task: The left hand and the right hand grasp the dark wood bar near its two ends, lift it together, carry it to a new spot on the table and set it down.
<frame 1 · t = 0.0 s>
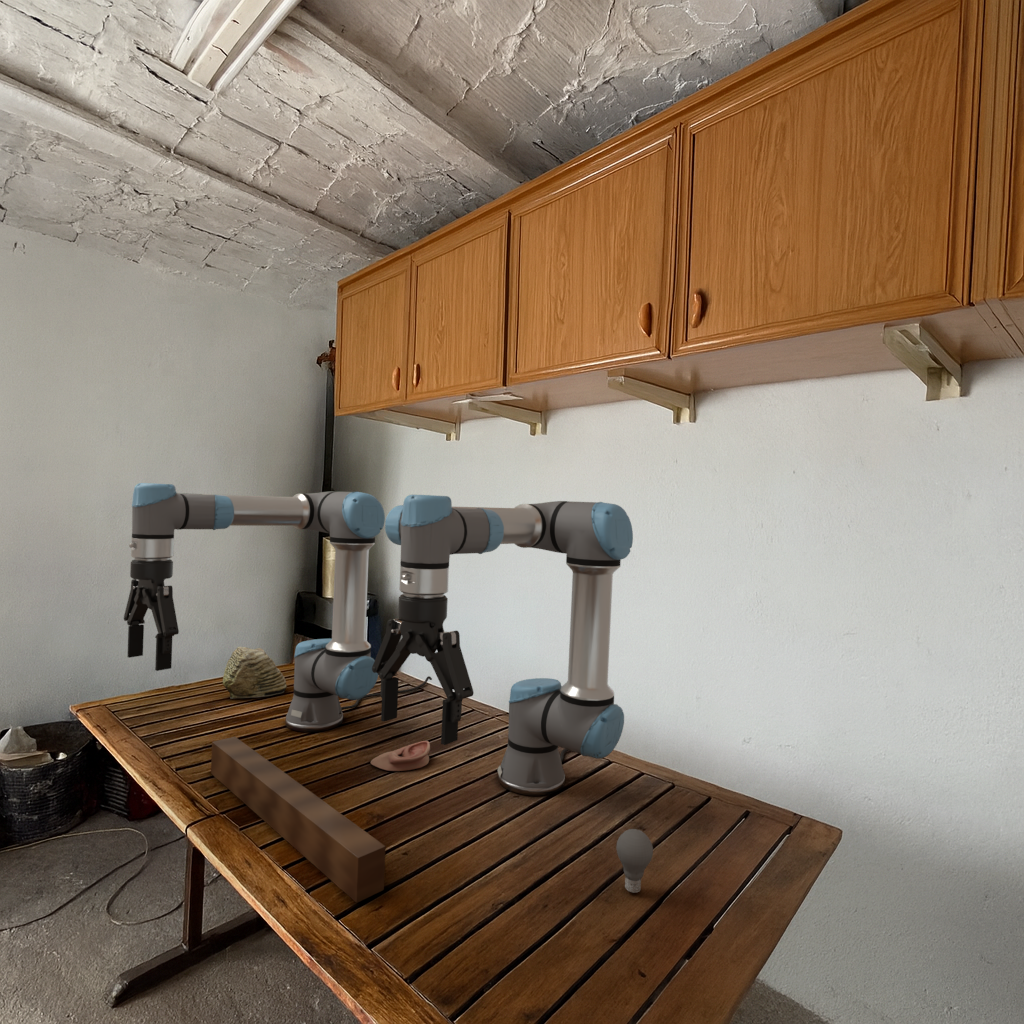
left hand: (148, 662, 129), 28 cm above the table, tool pointing down, fingers open, 13 cm apart
right hand: (417, 730, 98), 28 cm above the table, tool pointing down, fingers open, 13 cm apart
bar: (283, 822, 123), on the table
fossil: (254, 694, 198), on the table
light bulb: (632, 891, 106), on the table
anatomical model: (400, 762, 153), on the table
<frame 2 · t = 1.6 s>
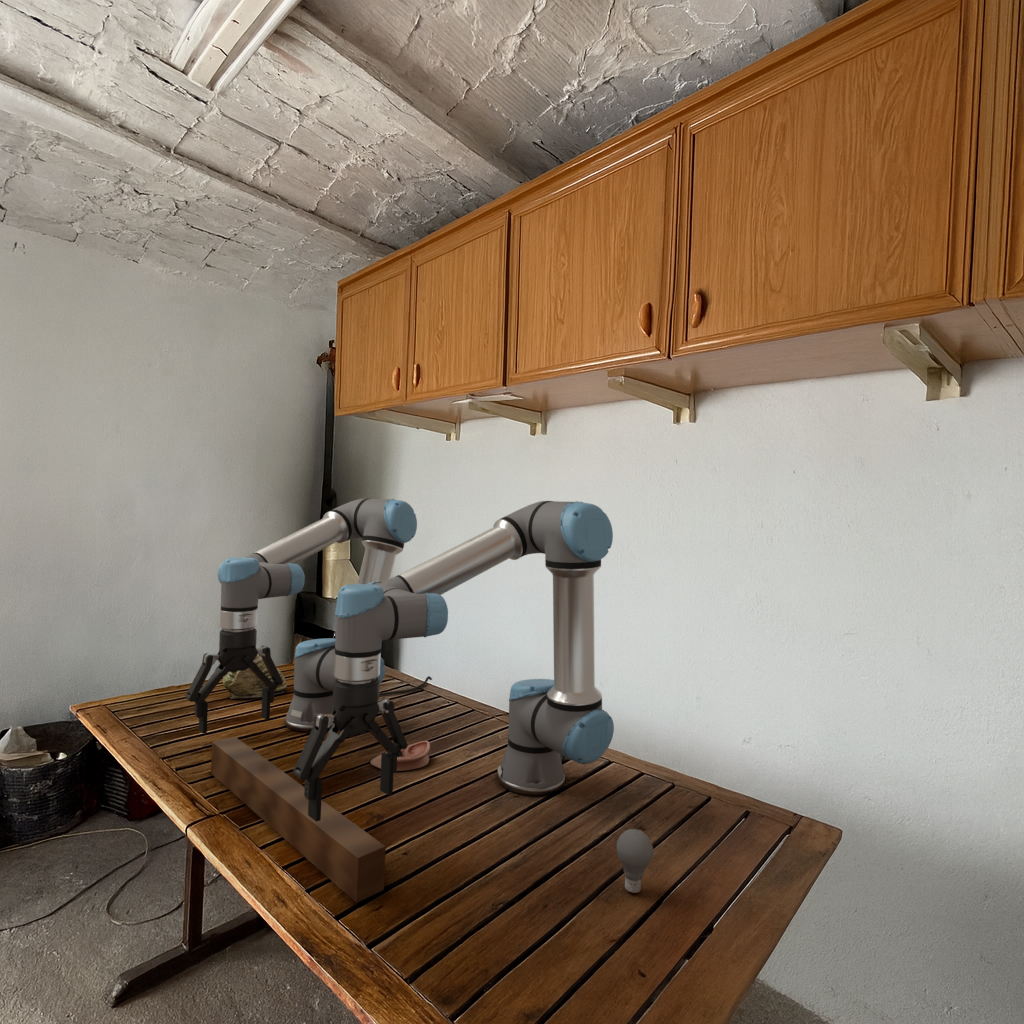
left hand: (235, 724, 139), 12 cm above the table, tool pointing down, fingers open, 13 cm apart
right hand: (351, 804, 106), 12 cm above the table, tool pointing down, fingers open, 13 cm apart
nothing on the table moved.
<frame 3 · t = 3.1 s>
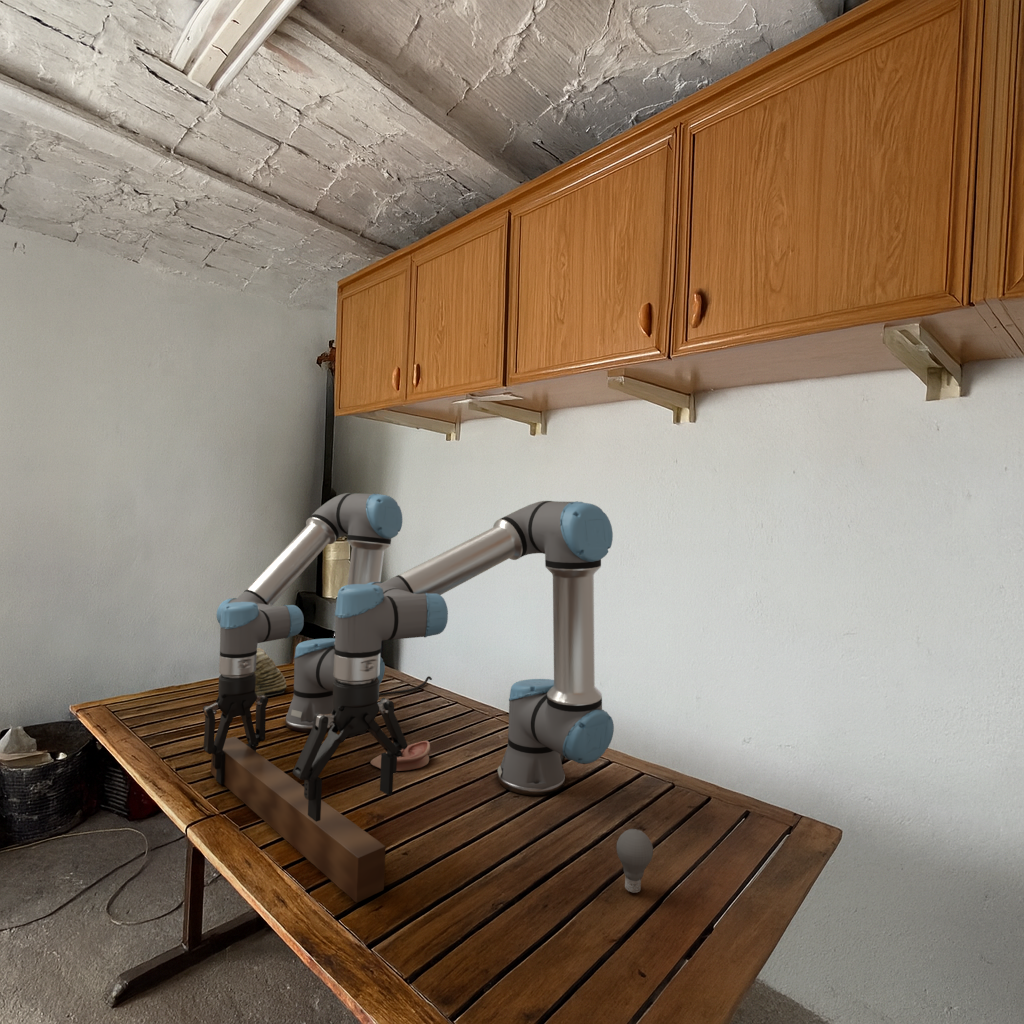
left hand: (233, 778, 140), 0 cm above the table, tool pointing down, fingers closed on bar, 5 cm apart
right hand: (351, 804, 106), 12 cm above the table, tool pointing down, fingers open, 13 cm apart
bar: (283, 822, 123), on the table, touching left hand
everything else where it was.
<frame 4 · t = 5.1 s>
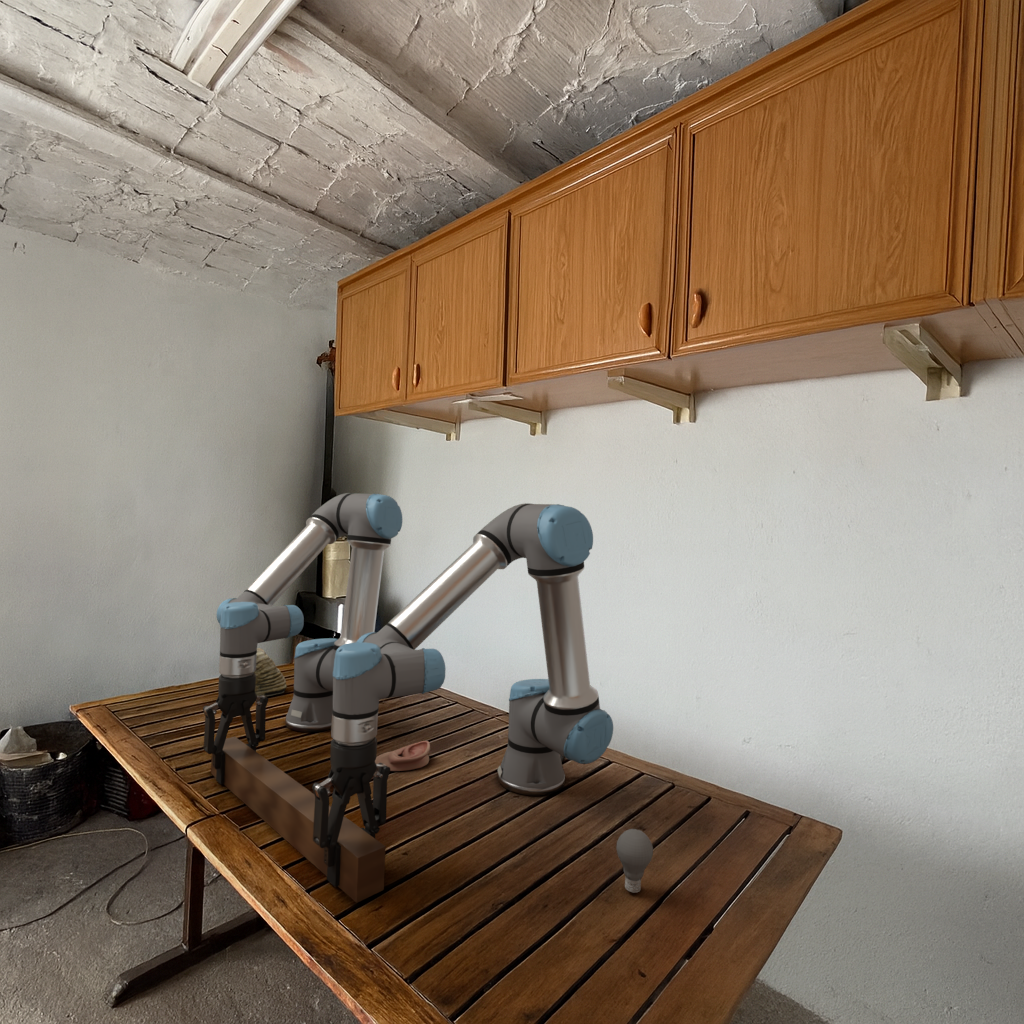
left hand: (233, 778, 140), 0 cm above the table, tool pointing down, fingers closed on bar, 5 cm apart
right hand: (348, 875, 106), 0 cm above the table, tool pointing down, fingers closed on bar, 5 cm apart
bar: (283, 822, 123), on the table, touching left hand, right hand
everything else where it was.
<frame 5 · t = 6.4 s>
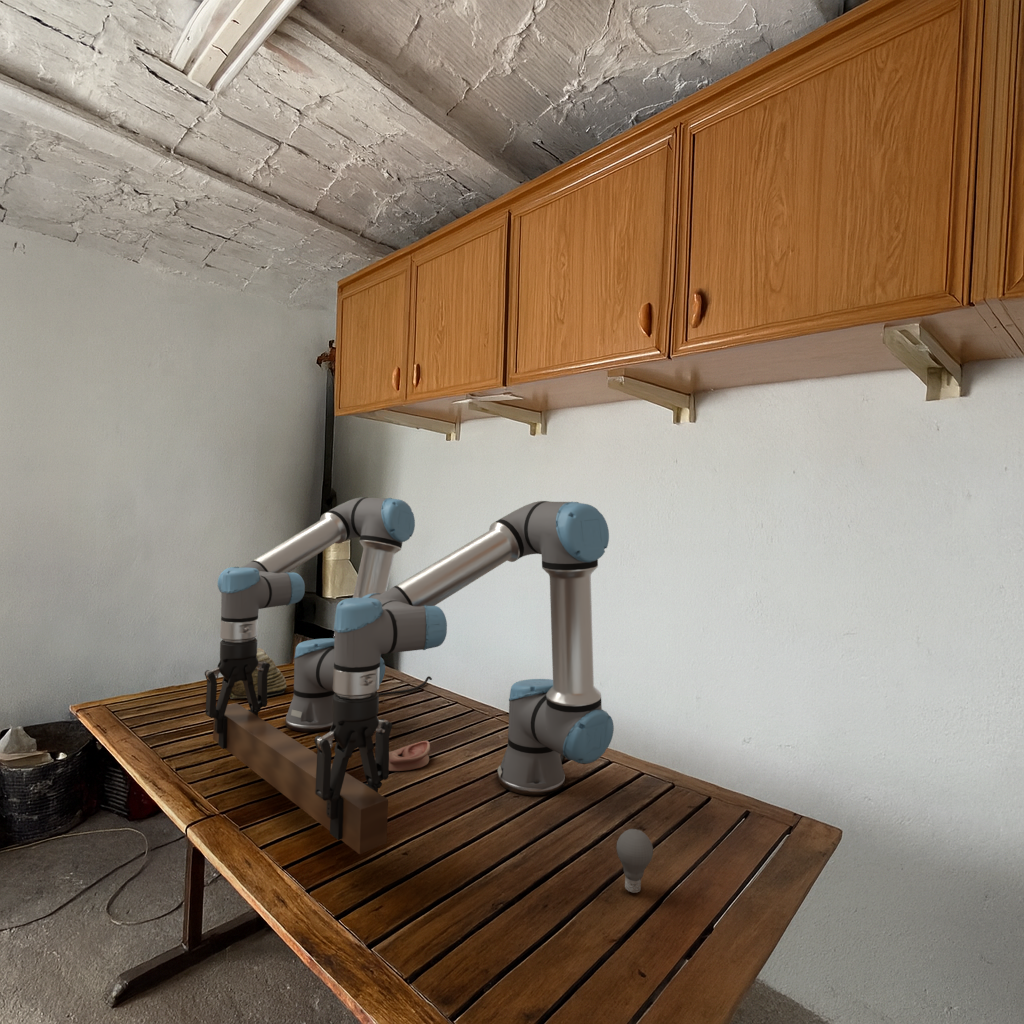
left hand: (236, 743, 140), 8 cm above the table, tool pointing down, fingers closed on bar, 5 cm apart
right hand: (351, 829, 106), 8 cm above the table, tool pointing down, fingers closed on bar, 5 cm apart
bar: (286, 782, 123), point 8 cm above the table, touching left hand, right hand
everything else where it was.
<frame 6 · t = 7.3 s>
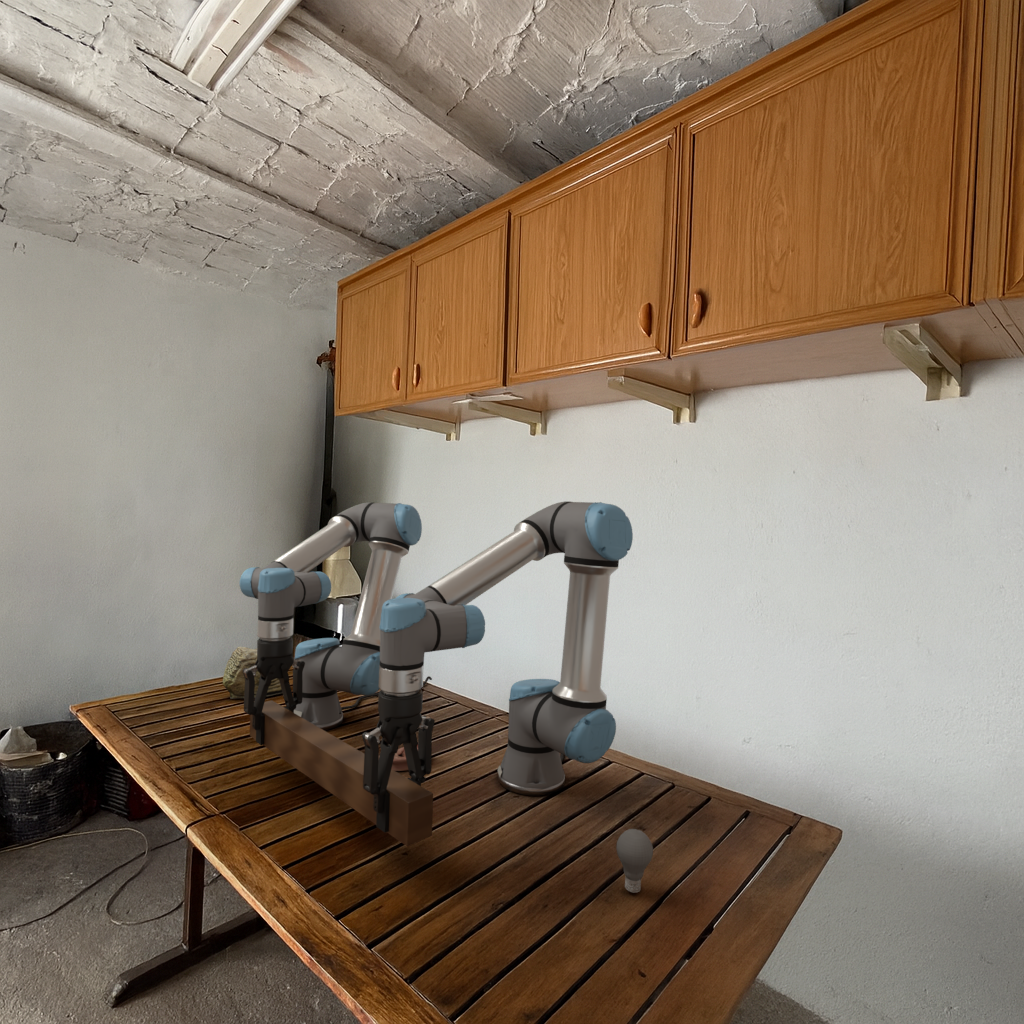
left hand: (272, 739, 143), 8 cm above the table, tool pointing down, fingers closed on bar, 5 cm apart
right hand: (396, 822, 109), 8 cm above the table, tool pointing down, fingers closed on bar, 5 cm apart
bar: (326, 777, 126), point 8 cm above the table, touching left hand, right hand
everything else where it was.
when the left hand's fingers open (1 cm above the table, at t = 9.7 s): bar stays where it is, on the table.
when the right hand's fingers open (1 cm above the table, at t = 9.8 s): bar stays where it is, on the table.
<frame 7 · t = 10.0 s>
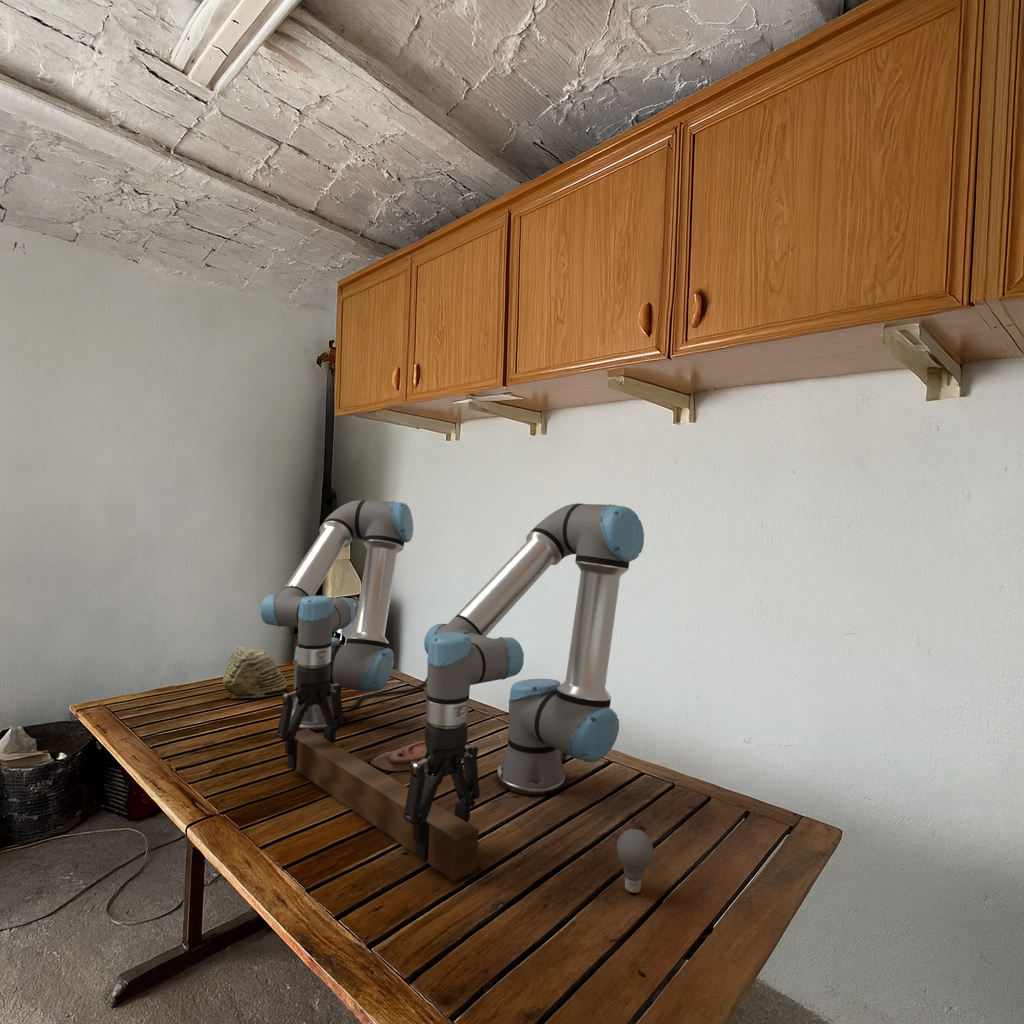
left hand: (310, 761, 146), 2 cm above the table, tool pointing down, fingers open, 8 cm apart
right hand: (441, 848, 112), 2 cm above the table, tool pointing down, fingers open, 8 cm apart
bar: (367, 809, 129), on the table
everything else where it was.
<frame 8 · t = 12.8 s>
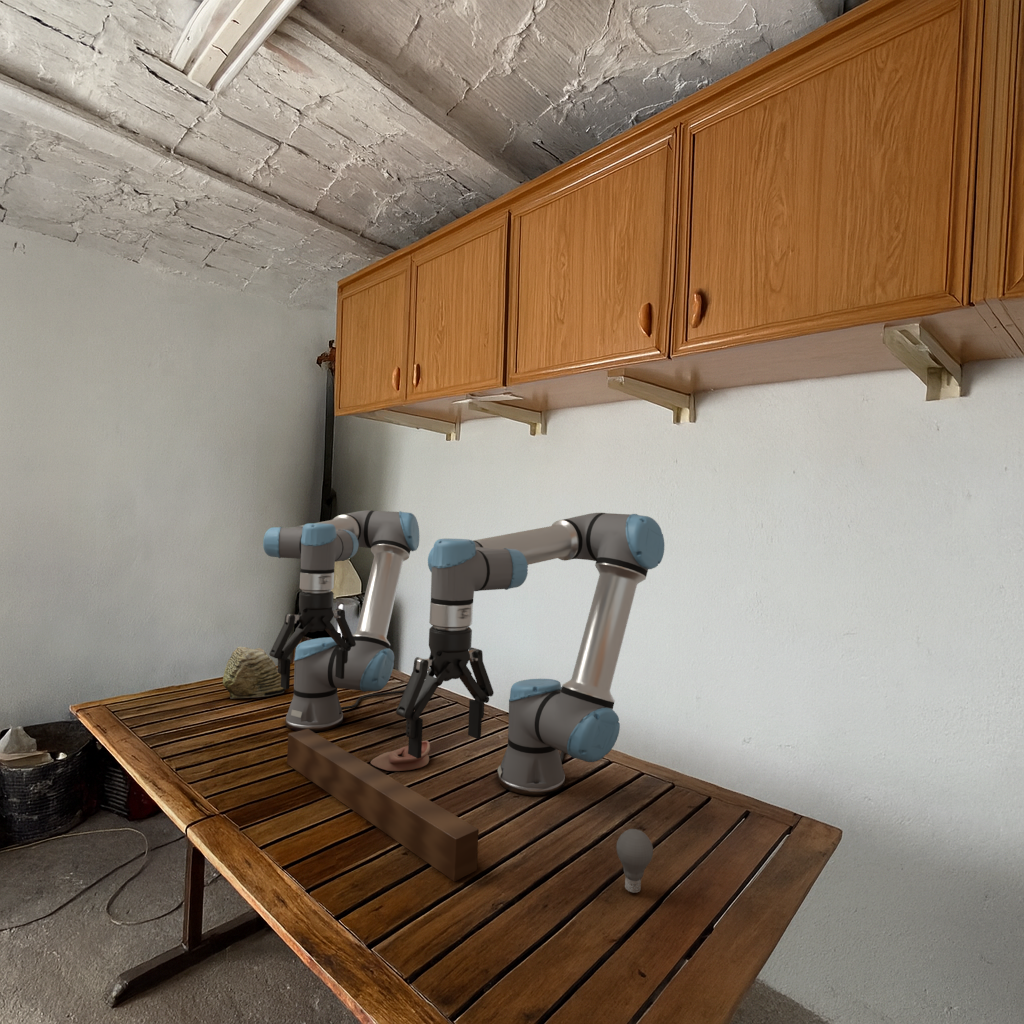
left hand: (313, 682, 146), 20 cm above the table, tool pointing down, fingers open, 13 cm apart
right hand: (445, 745, 112), 20 cm above the table, tool pointing down, fingers open, 13 cm apart
nothing on the table moved.
at the end: bar inside the target area (0.1 cm from its centre), on the table; bar tilted 0°; bar never tilted more than 2° during the clip; both hands held the bar at the same time; the left hand is holding nothing; the right hand is holding nothing; bar at rest at the end (0.0 cm/s) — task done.
